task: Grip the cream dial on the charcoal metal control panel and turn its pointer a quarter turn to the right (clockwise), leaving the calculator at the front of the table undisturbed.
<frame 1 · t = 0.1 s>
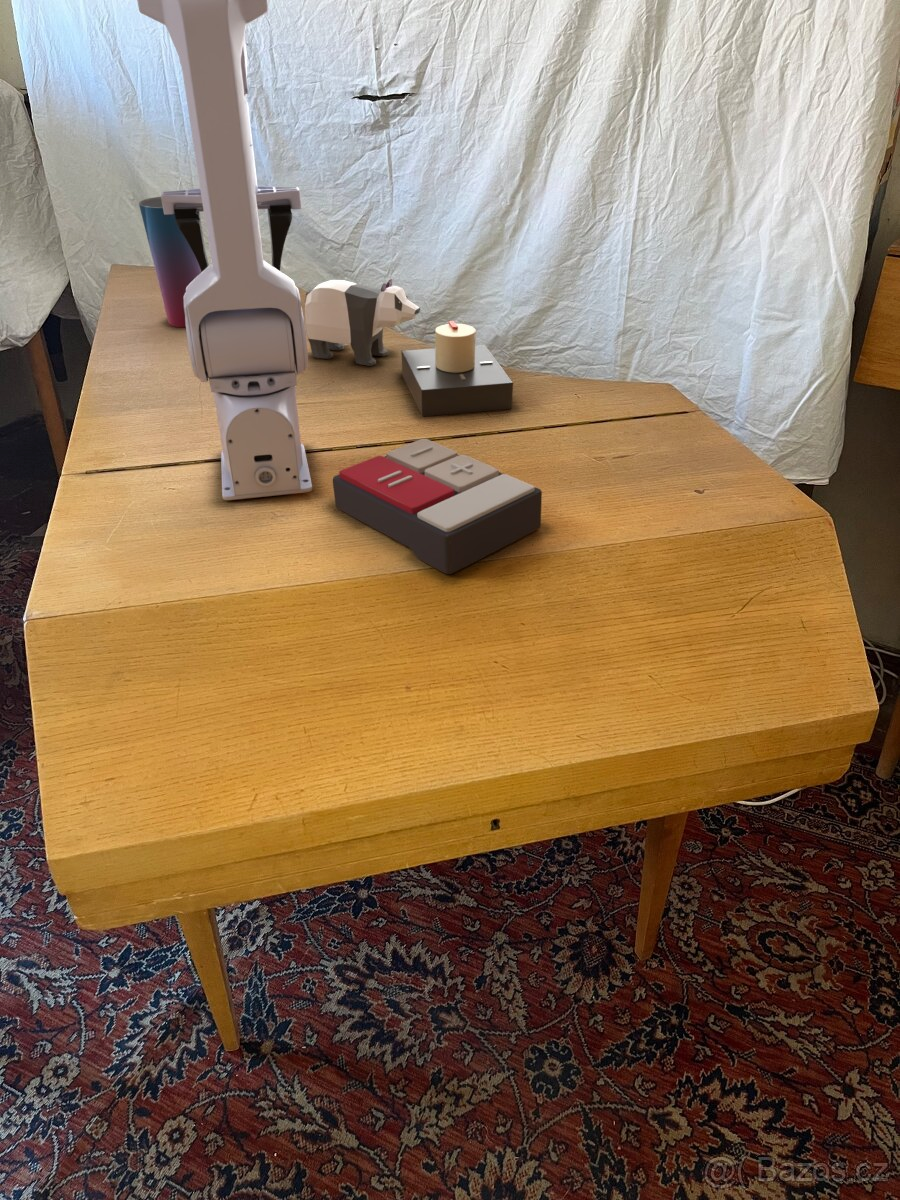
hand: (242, 278, 98), 10 cm above the table, tool pointing down, fingers open, 7 cm apart
panel: (454, 391, 97), on the table
calculator: (435, 519, 75), on the table
dial: (455, 346, 94), point 5 cm above the table, hinge at 0.0°
giant panda: (360, 358, 106), on the table
cup: (187, 322, 116), on the table
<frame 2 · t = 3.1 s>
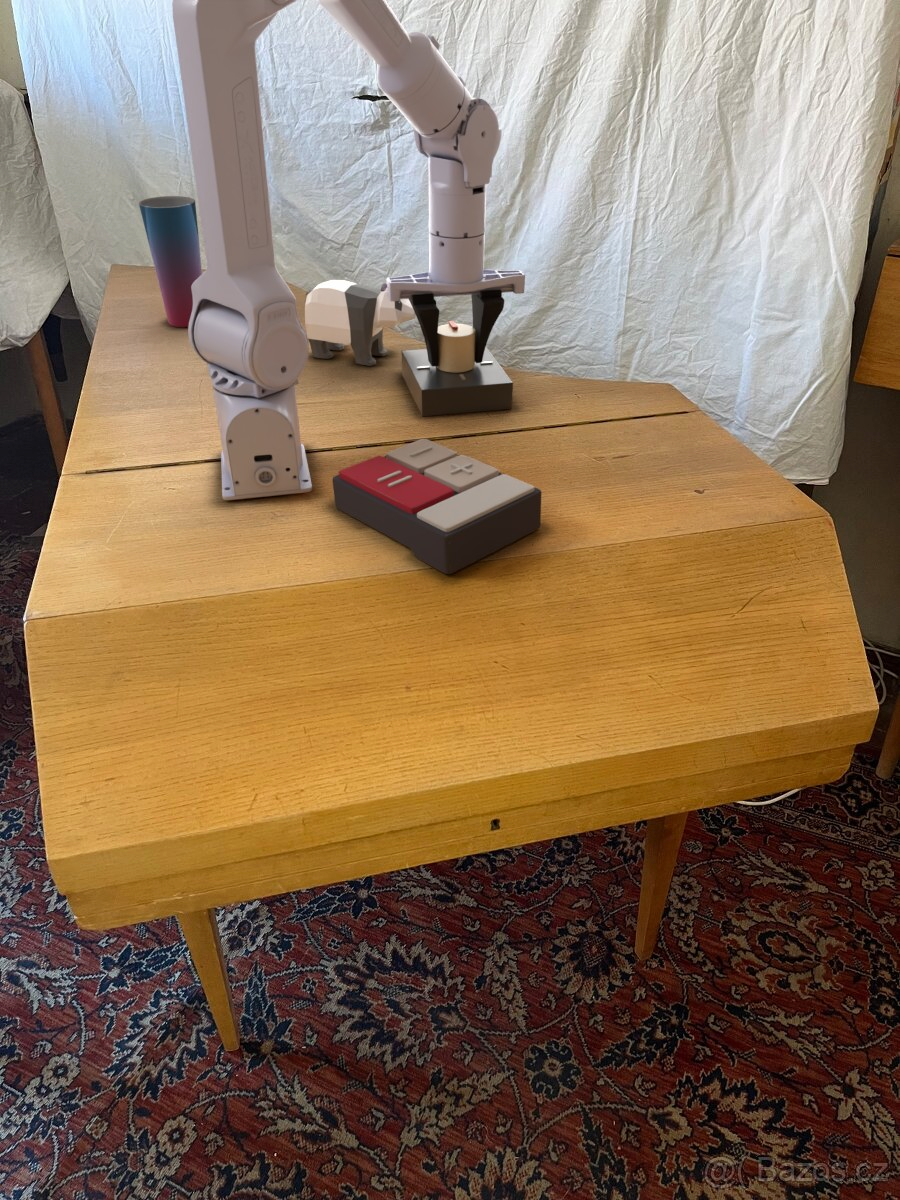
hand: (455, 361, 95), 4 cm above the table, tool pointing down, fingers closed on dial, 4 cm apart
dial: (455, 346, 94), point 5 cm above the table, hinge at 0.1°, touching gripper
everything else where it was.
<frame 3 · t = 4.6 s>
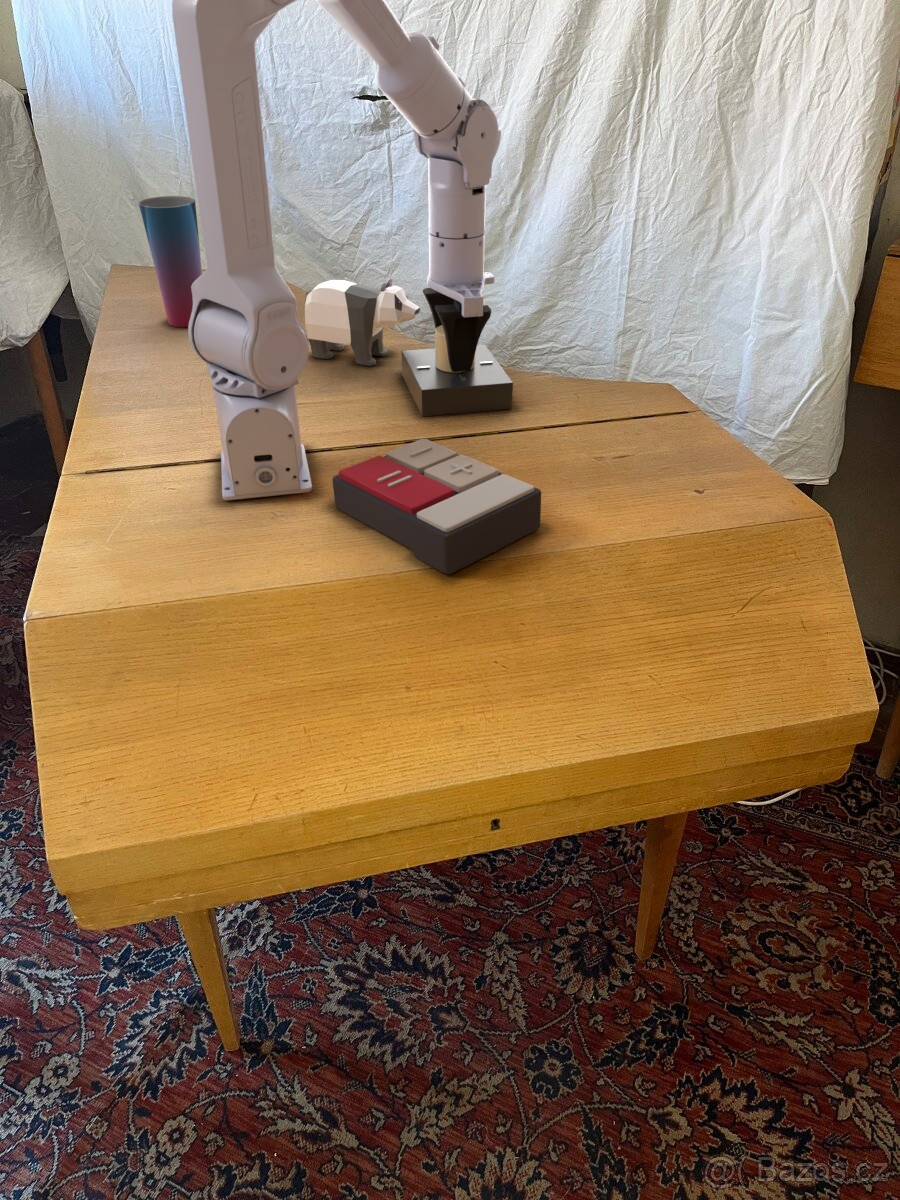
hand: (455, 362, 95), 3 cm above the table, tool pointing down, fingers closed on dial, 4 cm apart
dial: (455, 346, 94), point 5 cm above the table, hinge at -89.4°, touching gripper
everything else where it was.
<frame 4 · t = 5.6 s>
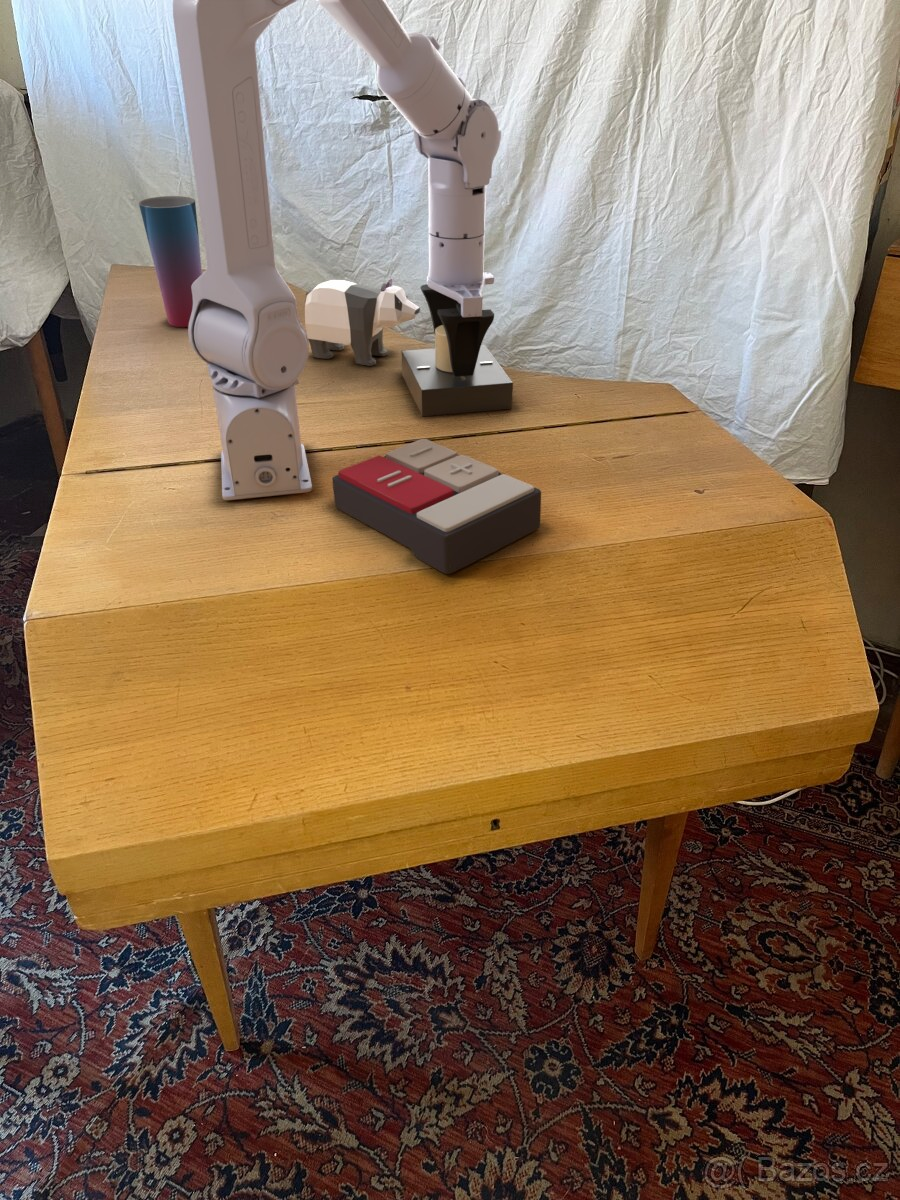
hand: (455, 362, 95), 3 cm above the table, tool pointing down, fingers open, 7 cm apart
dial: (455, 346, 94), point 5 cm above the table, hinge at -89.7°
everything else where it was.
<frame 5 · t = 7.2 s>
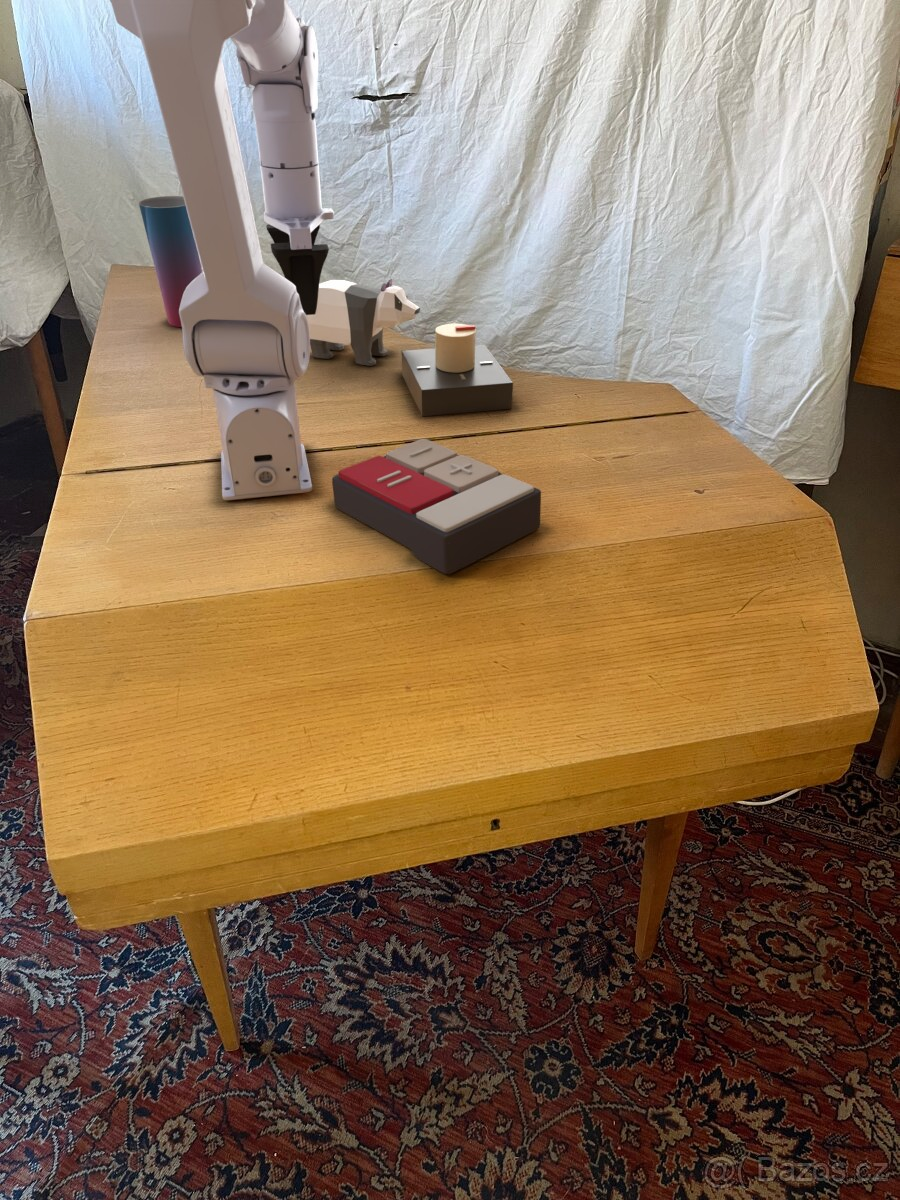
hand: (302, 303, 93), 9 cm above the table, tool pointing down, fingers open, 7 cm apart
nothing on the table moved.
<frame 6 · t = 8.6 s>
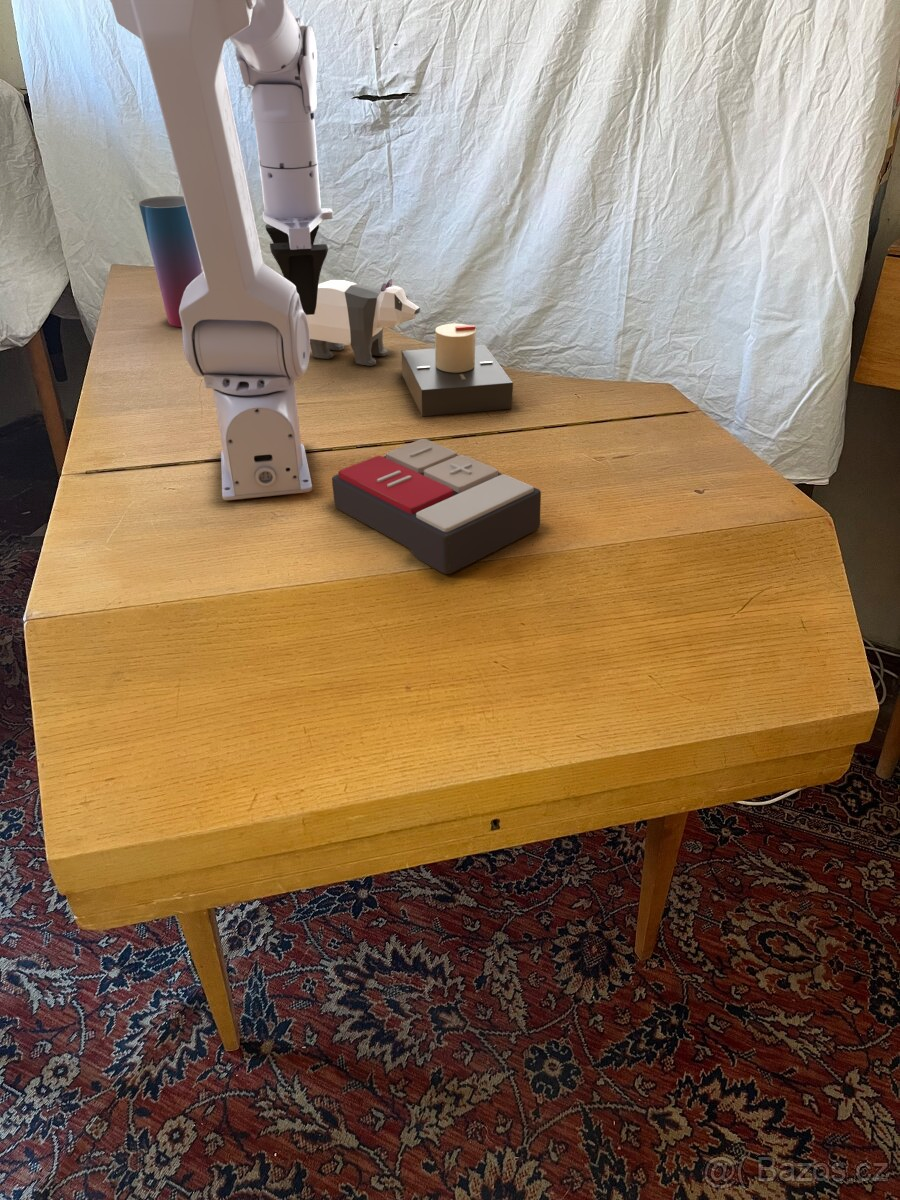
hand: (301, 303, 93), 9 cm above the table, tool pointing down, fingers open, 7 cm apart
nothing on the table moved.
at the end: dial at -90° (first picture: +0°); calculator moved 0.2 cm from its start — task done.
